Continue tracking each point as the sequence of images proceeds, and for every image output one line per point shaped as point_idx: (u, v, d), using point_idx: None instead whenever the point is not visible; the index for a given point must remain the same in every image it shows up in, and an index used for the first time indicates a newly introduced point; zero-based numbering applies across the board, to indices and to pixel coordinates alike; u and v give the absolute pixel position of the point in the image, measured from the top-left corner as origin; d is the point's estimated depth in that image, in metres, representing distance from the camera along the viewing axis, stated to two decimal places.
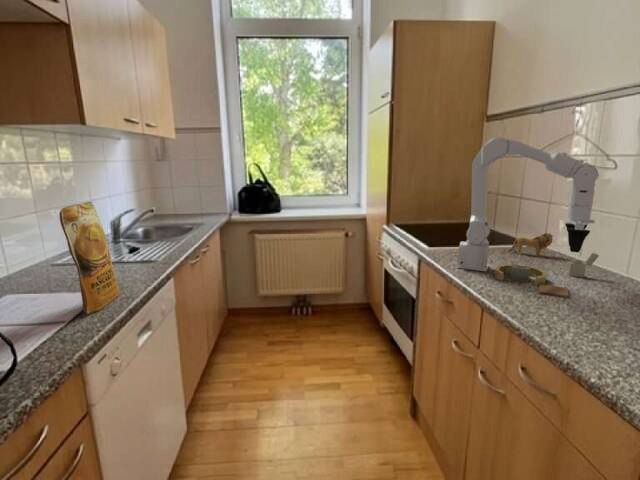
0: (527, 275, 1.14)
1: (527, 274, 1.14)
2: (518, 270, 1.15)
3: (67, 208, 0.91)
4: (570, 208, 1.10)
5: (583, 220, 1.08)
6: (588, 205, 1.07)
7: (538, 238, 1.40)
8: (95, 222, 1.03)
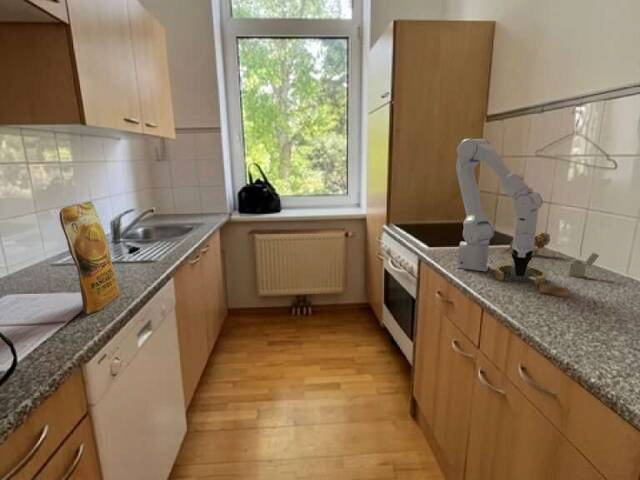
0: (527, 275, 1.14)
1: (527, 274, 1.14)
2: None
3: (67, 208, 0.91)
4: (515, 235, 1.14)
5: (527, 247, 1.12)
6: (527, 233, 1.11)
7: (536, 238, 1.41)
8: (95, 222, 1.03)
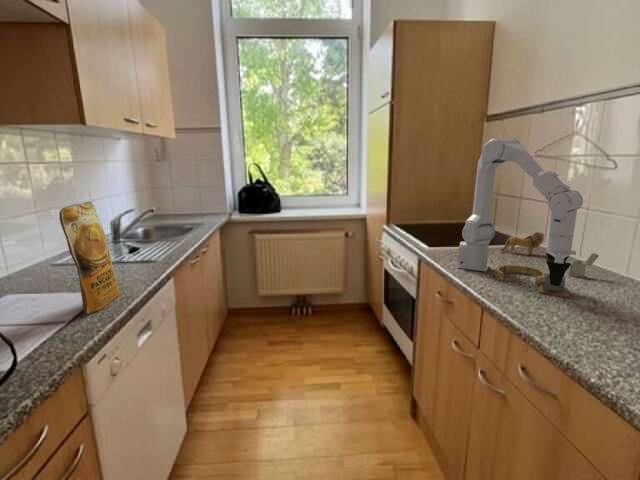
0: (562, 286, 1.02)
1: (562, 285, 1.02)
2: None
3: (67, 208, 0.91)
4: (550, 238, 1.02)
5: (564, 251, 1.00)
6: (563, 236, 0.99)
7: (530, 237, 1.42)
8: (95, 222, 1.03)
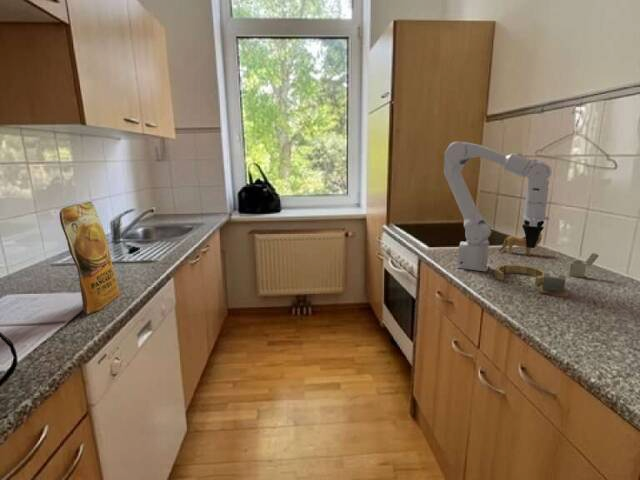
0: (562, 286, 1.02)
1: (562, 285, 1.02)
2: (551, 281, 1.04)
3: (67, 208, 0.91)
4: (526, 205, 1.14)
5: (538, 217, 1.12)
6: (541, 202, 1.11)
7: None
8: (95, 222, 1.03)
